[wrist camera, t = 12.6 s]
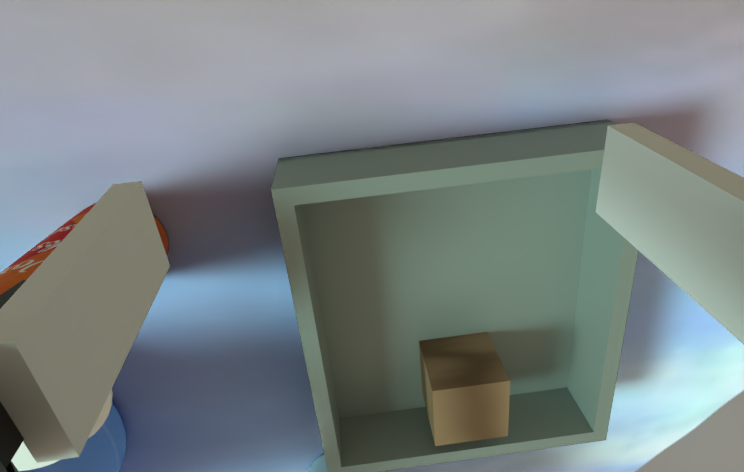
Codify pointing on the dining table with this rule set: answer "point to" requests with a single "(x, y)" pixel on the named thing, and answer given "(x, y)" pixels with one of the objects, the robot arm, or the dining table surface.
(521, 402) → the tote
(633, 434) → the dining table surface
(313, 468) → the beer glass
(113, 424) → the water jug
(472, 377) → the walnut cube
